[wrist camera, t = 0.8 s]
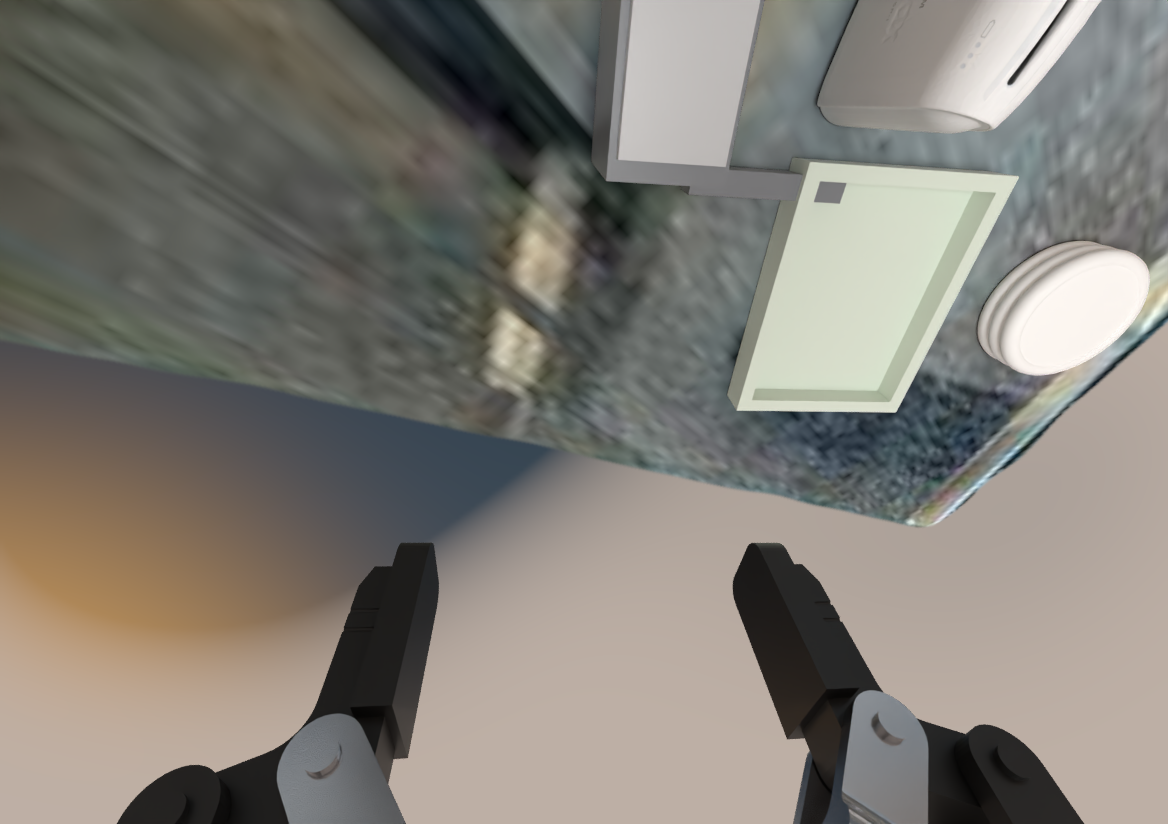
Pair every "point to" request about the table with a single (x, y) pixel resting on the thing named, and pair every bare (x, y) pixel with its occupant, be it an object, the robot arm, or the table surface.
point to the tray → (860, 284)
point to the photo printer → (945, 61)
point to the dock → (681, 98)
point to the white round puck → (1063, 307)
